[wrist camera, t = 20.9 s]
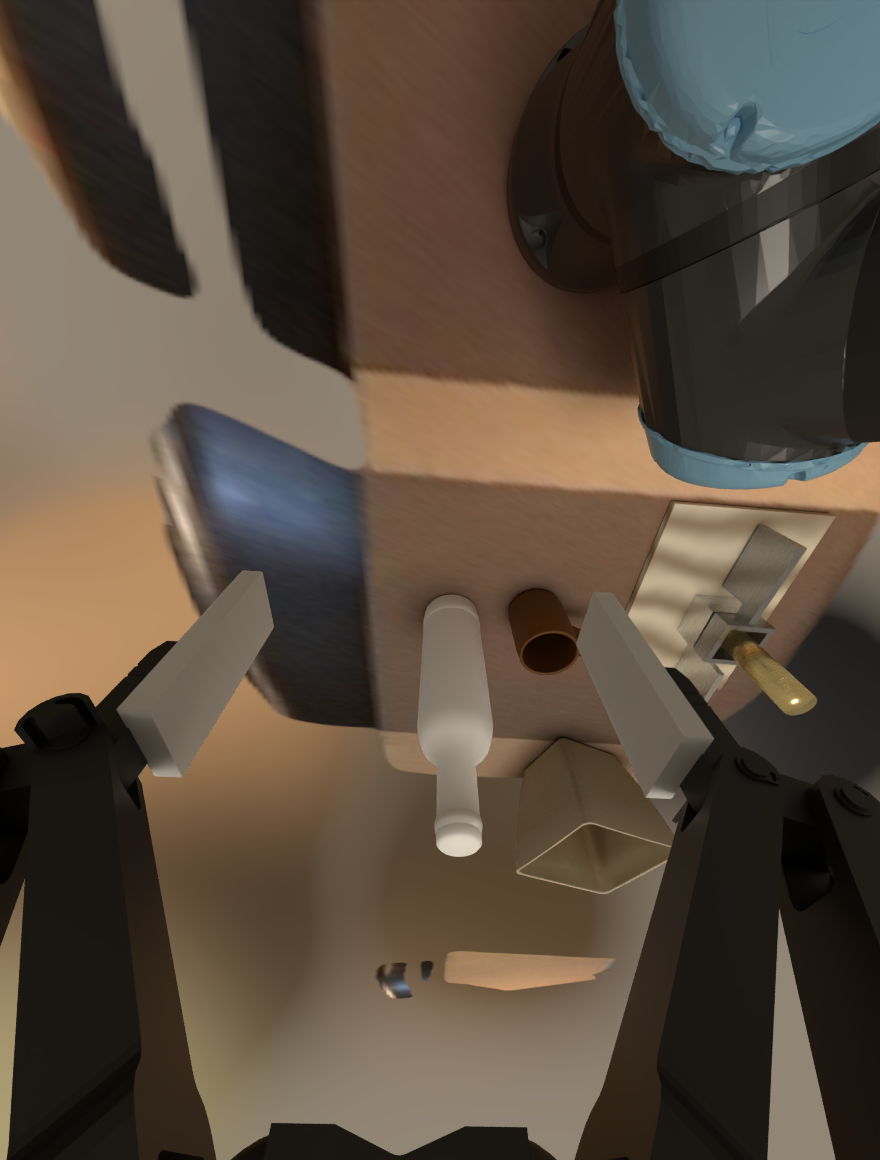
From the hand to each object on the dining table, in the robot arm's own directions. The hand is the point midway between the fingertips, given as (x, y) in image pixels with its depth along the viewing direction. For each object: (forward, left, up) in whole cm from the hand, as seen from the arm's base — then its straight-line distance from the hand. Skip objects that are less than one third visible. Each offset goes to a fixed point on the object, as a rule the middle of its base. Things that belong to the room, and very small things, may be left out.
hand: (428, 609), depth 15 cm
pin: (+20, +40, -31) cm, 54 cm away
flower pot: (+58, +30, -32) cm, 73 cm away
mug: (+22, +18, -32) cm, 43 cm away
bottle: (+24, +4, -32) cm, 40 cm away
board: (+19, +39, -32) cm, 54 cm away
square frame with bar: (+15, +40, -30) cm, 52 cm away
